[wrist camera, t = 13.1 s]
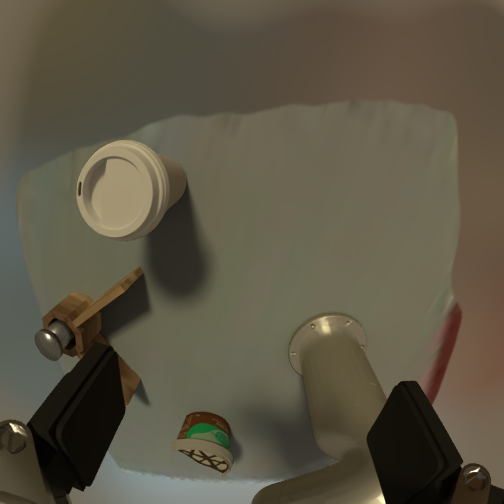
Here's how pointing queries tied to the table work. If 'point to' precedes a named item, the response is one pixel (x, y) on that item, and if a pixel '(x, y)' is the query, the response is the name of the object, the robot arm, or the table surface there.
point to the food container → (206, 441)
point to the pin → (54, 339)
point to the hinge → (93, 326)
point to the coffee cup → (128, 189)
